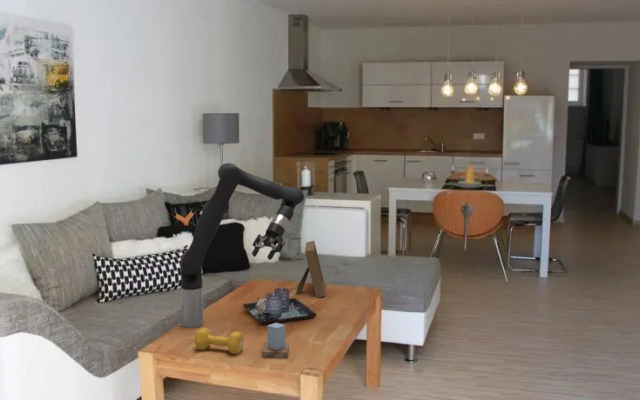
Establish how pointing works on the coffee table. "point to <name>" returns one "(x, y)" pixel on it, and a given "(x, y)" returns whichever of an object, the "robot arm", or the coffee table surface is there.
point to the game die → (261, 306)
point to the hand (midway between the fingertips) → (261, 257)
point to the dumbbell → (219, 340)
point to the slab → (275, 352)
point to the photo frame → (312, 271)
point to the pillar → (276, 336)
